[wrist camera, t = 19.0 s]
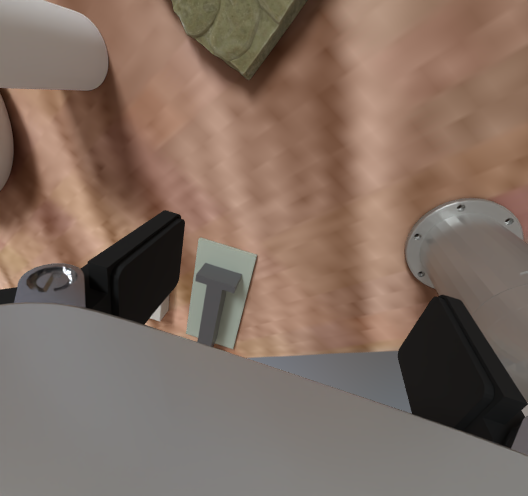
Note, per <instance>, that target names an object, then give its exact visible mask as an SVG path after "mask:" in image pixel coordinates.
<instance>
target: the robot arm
mask: <svg viewBox="0 0 528 496" xmlns="http://www.w3.org/2000/svg"><path fill="white" fill-rule="evenodd" d="M459 205H460V207H458V206H459ZM457 207H458V208H457ZM506 219H507V220H506ZM184 226H185V221H184V220H183V219H181V216H180V215H179V214H176V213H173V212H169V211H166V210H165V211H163V212H161V213H160V214H158V215H157V216H155V217H154V218H152V219H151V220H149V221H148V222H146V223H145V224H143V225H142V226H140V227H139V228H137V229H136V230H134V231H133V232H131V233H130V234H128V235H127V236H125V237H124V238H122V239H121V240H119V241H118V242H116V243H115V244H113V245H112V246H110V247H109V248H107V249H106V250H104V251H103V252H101V253H100V254H98V255H97V256H95V257H94V258H92V259H91V260H89V261H88V264H87V265H85V266H84V267H82V268H81V269H79V268H78V267H76V266H73V265H69V264H48V265H43V266H39V267H36V268H34V269H32V270H30V271H28V272H26V273H25V274H24V275H23V276H22V277H21V278H20V280H19V282H18V287H16V288H9V289H2V290H0V496H528V416H526V417H525V416H524V414H523V413H522V411H521V410H522V409H523V408H524V407H525V406H526V405H528V403H527V402H528V244H527V243H526V242H524V241H523V231H522V227H521V225H520V223H519V221H518V219H517V218H516V217H515V216H514V214H513V213H512V212H511V211H509V210H508V209H506V208H505V207H503V206H501V205H499V204H498V203H496V202H493V201H489V200H486V199H479V198H465V199H458V200H453V201H449V202H447V203H444V204H442V205H439V206H437V207H436V208H434V209H432V210H430V211H429V212H427V213H426V214H425V215H424V216H423V217H421V218H420V219H419V220H418V222H417V223H416V224H415V225H414V226H413V228H412V229H411V231H410V233H409V235H408V238H407V240H406V245H405V257H406V261H407V264H408V266H409V268H410V270H411V272H412V273H413V275H414V276H415V277H416V278H417V279H418V280H419V281H421V282H422V283H423V284H425V285H427V286H429V287H431V288H434V289H436V291H437V293H438V295H439V297H434V298H433V299H432V300H431V301H430V303H429V304H428V306H427V307H426V309H425V310H424V312H423V313H422V315H421V316H420V318H419V320H418V321H417V323H416V324H415V326H414V327H413V329H412V330H411V332H410V333H409V335H408V336H407V338H406V339H405V341H404V342H403V344H402V345H401V347H400V349H399V351H398V360H399V364H400V368H401V372H402V376H403V380H404V383H405V388H406V392H407V395H408V399H409V403H410V407H411V411H412V414H411V413H407V412H405V411H402V410H399V409H396V408H393V407H390V406H387V405H384V404H381V403H378V402H375V401H372V400H369V399H366V398H363V397H360V396H357V395H354V394H351V393H348V392H345V391H342V390H339V389H336V388H333V387H330V386H327V385H324V384H321V383H318V382H315V381H312V380H309V379H306V378H303V377H300V376H297V375H295V374H291V373H289V372H286V371H283V370H280V369H276V368H274V367H271V366H268V365H265V364H262V363H258V362H255V361H252V360H250V359H247V358H244V357H241V356H238V355H235V354H232V353H229V352H226V351H223V350H220V349H217V348H214V347H211V346H208V345H205V344H202V343H198V342H195V341H192V340H189V339H186V338H183V337H180V336H177V335H174V334H171V333H168V332H165V331H162V330H159V329H156V328H153V327H150V326H147V325H144V324H145V323H146V322H147V321H148V319H149V318H150V317H151V316H152V315H153V313H154V312H155V311H156V310H157V309H158V307H159V306H160V305H161V304H162V302H163V301H164V300H165V299H166V298H167V296H168V295H169V294H170V293H171V292H172V290H173V289H174V288H175V287H176V285H177V283H178V280H179V275H180V265H181V255H182V246H183V236H184ZM415 234H418V235H416V236H415ZM526 401H527V402H526Z"/></svg>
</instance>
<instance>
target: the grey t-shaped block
mask: <svg viewBox="0 0 528 496" xmlns="http://www.w3.org/2000/svg"><path fill="white" fill-rule="evenodd" d="M241 276H242V274H240V273H237V272H233V271H230V270H227V269H224V268H221V267H217V266H214V265H211V264H208V263H205V264H204V265H203V266H202V268H201V269H200V270H199V271H198V273H197V274H196V279H195V281H196V282H200V283H203V284H206V285H207V287H206V293H205V299H204V305H203V311H202V317H201V323H200V329H199V336H198V343H202V344H205V345H208V346H211V347H213V346H214V344H215V342H216V340H217V335H218V330H219V326H220V321H221V316H222V311H223V306H224V301H225V297H226V292H227V291H228V292H231V293H235V291H236V288H237V286H238V284H239V282H240V280H241Z"/></svg>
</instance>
